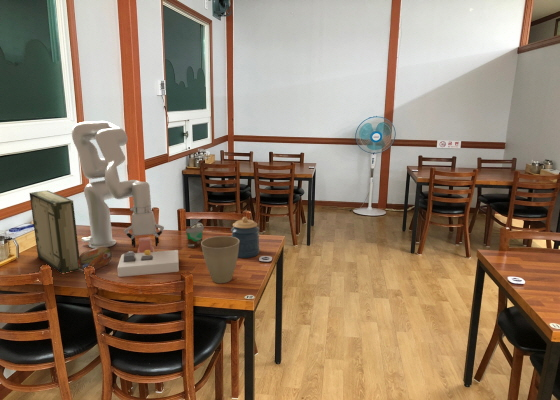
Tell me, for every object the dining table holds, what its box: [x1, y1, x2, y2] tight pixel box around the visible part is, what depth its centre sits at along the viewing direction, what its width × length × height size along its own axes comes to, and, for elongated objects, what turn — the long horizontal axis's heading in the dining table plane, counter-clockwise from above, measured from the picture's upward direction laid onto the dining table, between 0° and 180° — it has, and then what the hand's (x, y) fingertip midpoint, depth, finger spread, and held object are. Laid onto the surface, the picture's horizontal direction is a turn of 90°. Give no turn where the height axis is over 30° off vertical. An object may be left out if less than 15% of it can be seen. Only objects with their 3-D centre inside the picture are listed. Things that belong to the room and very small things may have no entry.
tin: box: [78, 247, 113, 271], centre depth 187 cm, size 15×3×8 cm, turn 148°
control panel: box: [29, 190, 82, 274], centre depth 190 cm, size 30×8×30 cm, turn 45°
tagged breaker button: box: [142, 255, 152, 261], centre depth 188 cm, size 4×4×4 cm
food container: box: [185, 221, 205, 249], centre depth 216 cm, size 12×6×10 cm, turn 168°
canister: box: [230, 216, 261, 259], centre depth 202 cm, size 13×13×18 cm
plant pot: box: [200, 235, 239, 284], centre depth 173 cm, size 15×15×16 cm
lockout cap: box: [136, 236, 155, 253], centre depth 201 cm, size 7×7×8 cm
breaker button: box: [123, 251, 136, 262], centre depth 186 cm, size 4×4×4 cm
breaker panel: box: [117, 249, 180, 278], centre depth 188 cm, size 24×16×6 cm, turn 103°
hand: (145, 245), depth 201 cm, fingers open, 9 cm apart
